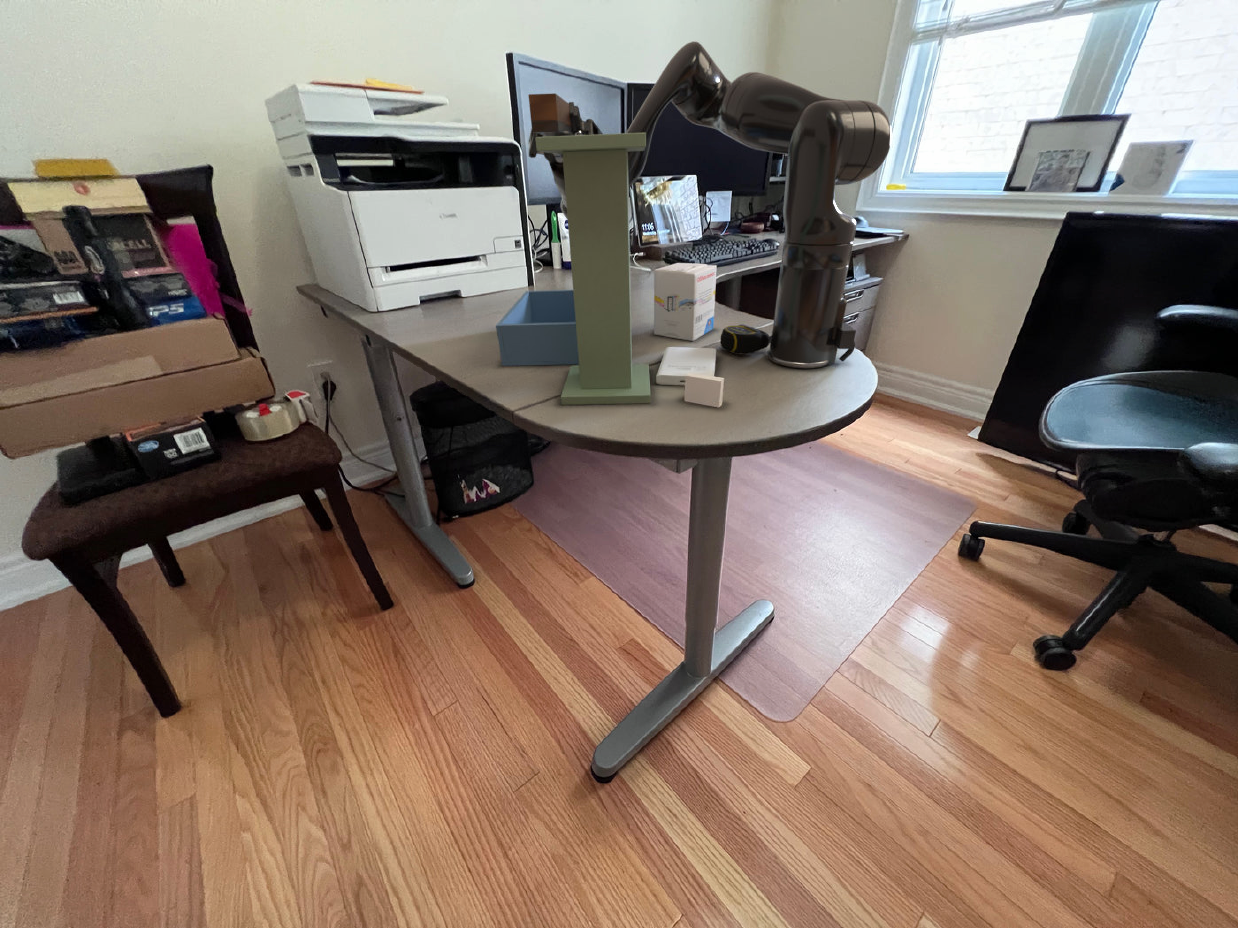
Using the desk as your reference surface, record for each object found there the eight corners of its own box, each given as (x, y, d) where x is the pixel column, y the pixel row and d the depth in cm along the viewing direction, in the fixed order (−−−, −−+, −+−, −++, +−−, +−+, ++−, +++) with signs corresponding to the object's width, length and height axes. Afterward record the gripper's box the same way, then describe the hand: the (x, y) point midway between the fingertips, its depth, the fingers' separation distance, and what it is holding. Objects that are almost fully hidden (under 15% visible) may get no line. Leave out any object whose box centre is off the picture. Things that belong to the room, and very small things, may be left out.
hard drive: (715, 358, 80) (713, 387, 70) (665, 356, 81) (655, 384, 71) (716, 348, 79) (714, 376, 69) (666, 346, 81) (655, 373, 70)
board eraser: (575, 137, 81) (573, 107, 79) (558, 131, 64) (555, 93, 62) (554, 138, 81) (552, 108, 79) (532, 132, 64) (528, 94, 62)
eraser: (719, 407, 64) (721, 381, 62) (684, 401, 66) (685, 375, 64) (722, 404, 65) (724, 377, 63) (687, 398, 67) (688, 372, 65)
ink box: (675, 323, 98) (677, 261, 91) (714, 329, 93) (718, 264, 87) (652, 335, 92) (652, 268, 86) (692, 342, 87) (695, 272, 81)
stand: (648, 366, 77) (647, 139, 62) (650, 409, 64) (651, 132, 48) (572, 368, 78) (553, 143, 62) (559, 411, 64) (530, 137, 49)
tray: (595, 322, 100) (594, 289, 97) (585, 364, 79) (582, 323, 76) (530, 324, 101) (525, 291, 97) (502, 366, 80) (495, 325, 76)
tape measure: (770, 353, 81) (773, 330, 79) (737, 361, 78) (740, 338, 76) (742, 342, 86) (744, 321, 84) (711, 349, 83) (712, 327, 81)
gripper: (535, 153, 91) (510, 85, 74) (611, 150, 90) (604, 81, 73) (536, 194, 91) (511, 136, 74) (611, 192, 91) (604, 132, 73)
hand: (557, 109), depth 74 cm, fingers closed on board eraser, 3 cm apart
